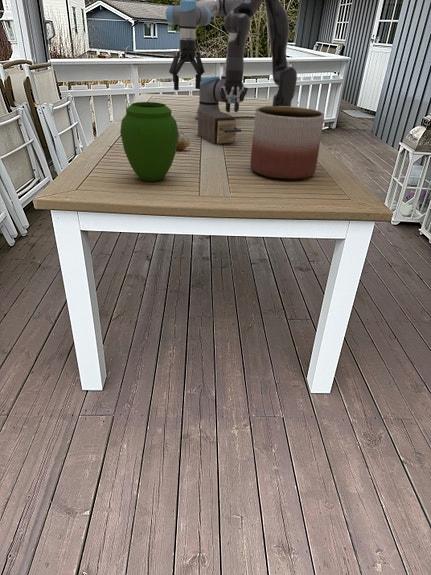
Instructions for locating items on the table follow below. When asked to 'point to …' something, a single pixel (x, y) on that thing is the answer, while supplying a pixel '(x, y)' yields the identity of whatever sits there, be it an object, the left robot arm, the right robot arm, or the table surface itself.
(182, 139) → the seashell
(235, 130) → the drawer
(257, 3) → the right robot arm
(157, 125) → the vase
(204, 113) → the small wooden cabinet
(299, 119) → the planter
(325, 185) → the table surface
